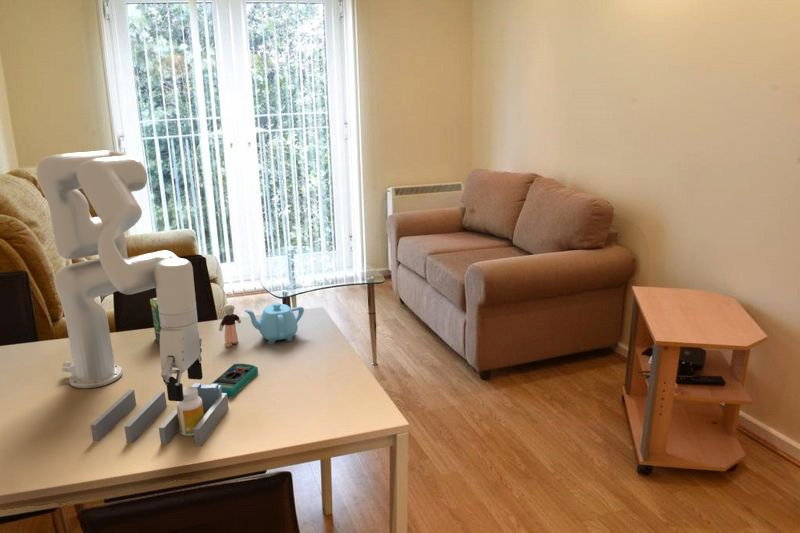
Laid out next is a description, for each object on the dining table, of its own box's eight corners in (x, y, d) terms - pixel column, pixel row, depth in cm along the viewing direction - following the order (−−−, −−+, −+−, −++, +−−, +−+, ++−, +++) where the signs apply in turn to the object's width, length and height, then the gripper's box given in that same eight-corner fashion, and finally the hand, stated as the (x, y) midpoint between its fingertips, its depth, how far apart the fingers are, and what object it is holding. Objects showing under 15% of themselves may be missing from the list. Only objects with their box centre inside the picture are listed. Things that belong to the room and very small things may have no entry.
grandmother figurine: (229, 349, 177) (224, 308, 174) (218, 346, 179) (214, 306, 175) (246, 339, 184) (242, 300, 180) (236, 337, 185) (232, 298, 182)
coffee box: (154, 338, 186) (149, 298, 182) (164, 336, 187) (159, 296, 184) (160, 346, 179) (155, 305, 176) (170, 344, 181) (165, 303, 177)
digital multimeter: (259, 373, 162) (258, 363, 162) (232, 400, 149) (231, 389, 148) (235, 371, 164) (234, 361, 163) (205, 397, 150) (204, 386, 149)
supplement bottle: (210, 426, 136) (206, 387, 133) (193, 438, 131) (188, 398, 128) (192, 421, 138) (187, 383, 135) (174, 433, 133) (169, 393, 131)
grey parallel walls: (93, 441, 131) (88, 413, 129) (131, 404, 146) (127, 379, 144) (200, 446, 128) (197, 417, 127) (228, 408, 144) (225, 382, 142)
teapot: (307, 335, 187) (306, 301, 185) (277, 350, 175) (276, 313, 173) (276, 329, 193) (274, 295, 191) (245, 343, 181) (242, 307, 179)
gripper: (179, 301, 136) (186, 370, 141) (140, 332, 119) (150, 408, 124) (211, 303, 135) (217, 372, 140) (177, 333, 119) (185, 410, 124)
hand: (186, 389), depth 132 cm, fingers open, 9 cm apart
